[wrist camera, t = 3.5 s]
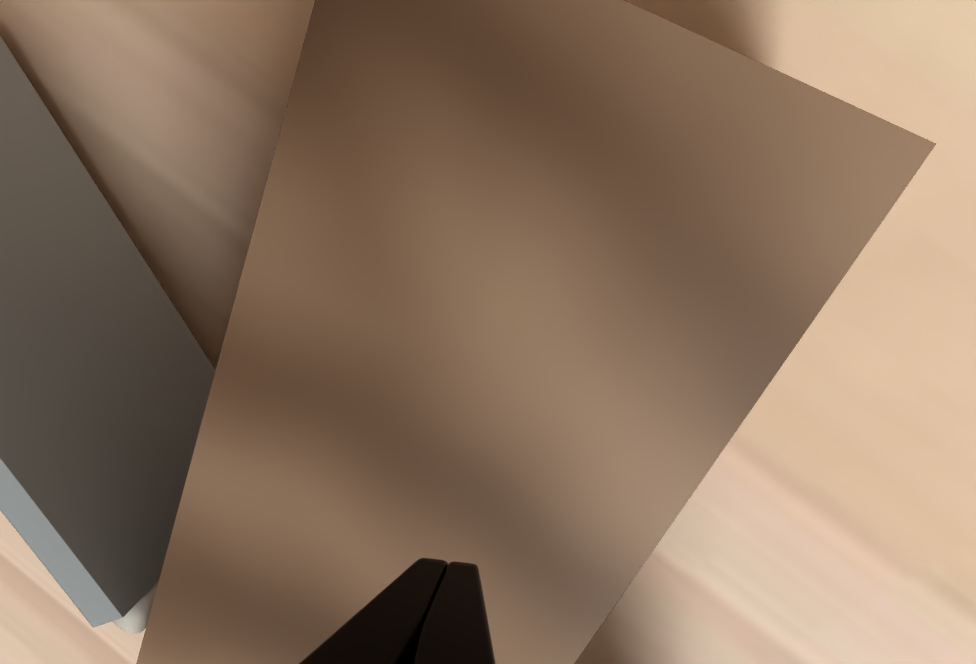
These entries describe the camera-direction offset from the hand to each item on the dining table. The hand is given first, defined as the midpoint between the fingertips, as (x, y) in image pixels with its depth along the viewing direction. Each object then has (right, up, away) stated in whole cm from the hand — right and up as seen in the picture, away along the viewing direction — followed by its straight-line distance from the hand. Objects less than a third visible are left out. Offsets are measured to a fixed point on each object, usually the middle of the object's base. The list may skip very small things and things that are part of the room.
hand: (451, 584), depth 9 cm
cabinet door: (-13, +5, +14) cm, 20 cm away
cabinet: (+1, +3, +13) cm, 13 cm away
